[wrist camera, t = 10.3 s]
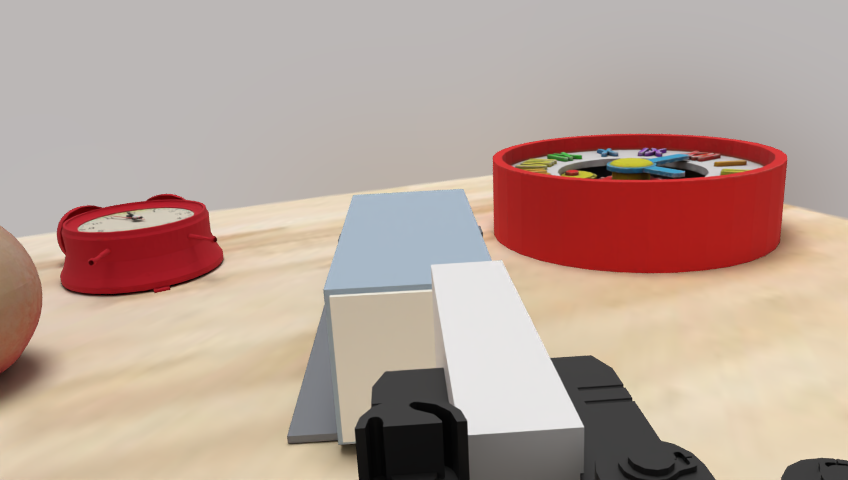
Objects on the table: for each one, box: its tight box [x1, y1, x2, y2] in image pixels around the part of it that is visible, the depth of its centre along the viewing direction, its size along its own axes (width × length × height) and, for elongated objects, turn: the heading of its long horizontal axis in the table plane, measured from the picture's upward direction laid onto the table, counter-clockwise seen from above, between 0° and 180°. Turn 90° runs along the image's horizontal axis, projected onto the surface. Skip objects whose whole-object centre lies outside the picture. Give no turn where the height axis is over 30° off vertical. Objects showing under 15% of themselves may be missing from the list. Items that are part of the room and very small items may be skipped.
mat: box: [287, 226, 483, 443], centre depth 35 cm, size 20×10×2 cm, turn 2°
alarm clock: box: [57, 194, 223, 294], centre depth 49 cm, size 10×6×15 cm
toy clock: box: [493, 134, 787, 273], centre depth 51 cm, size 20×6×20 cm
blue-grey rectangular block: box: [324, 189, 492, 445], centre depth 32 cm, size 6×6×15 cm
